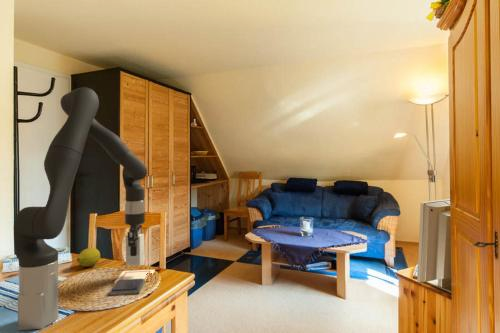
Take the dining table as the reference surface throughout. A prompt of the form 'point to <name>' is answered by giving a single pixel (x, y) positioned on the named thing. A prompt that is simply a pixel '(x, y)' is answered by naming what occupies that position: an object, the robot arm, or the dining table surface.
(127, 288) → the pad
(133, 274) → the paper sheet
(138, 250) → the skincare box
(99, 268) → the dining table surface
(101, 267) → the dining table surface
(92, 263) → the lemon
